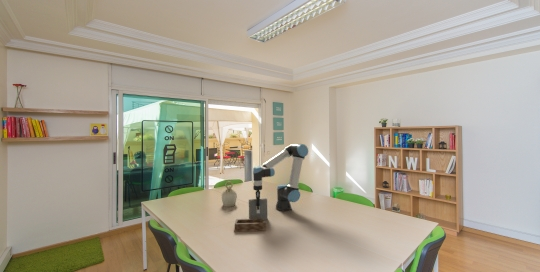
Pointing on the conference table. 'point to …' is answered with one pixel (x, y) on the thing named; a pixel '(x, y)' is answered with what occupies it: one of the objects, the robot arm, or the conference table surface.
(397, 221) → the conference table surface
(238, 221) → the u rest
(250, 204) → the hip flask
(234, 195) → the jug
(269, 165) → the robot arm
